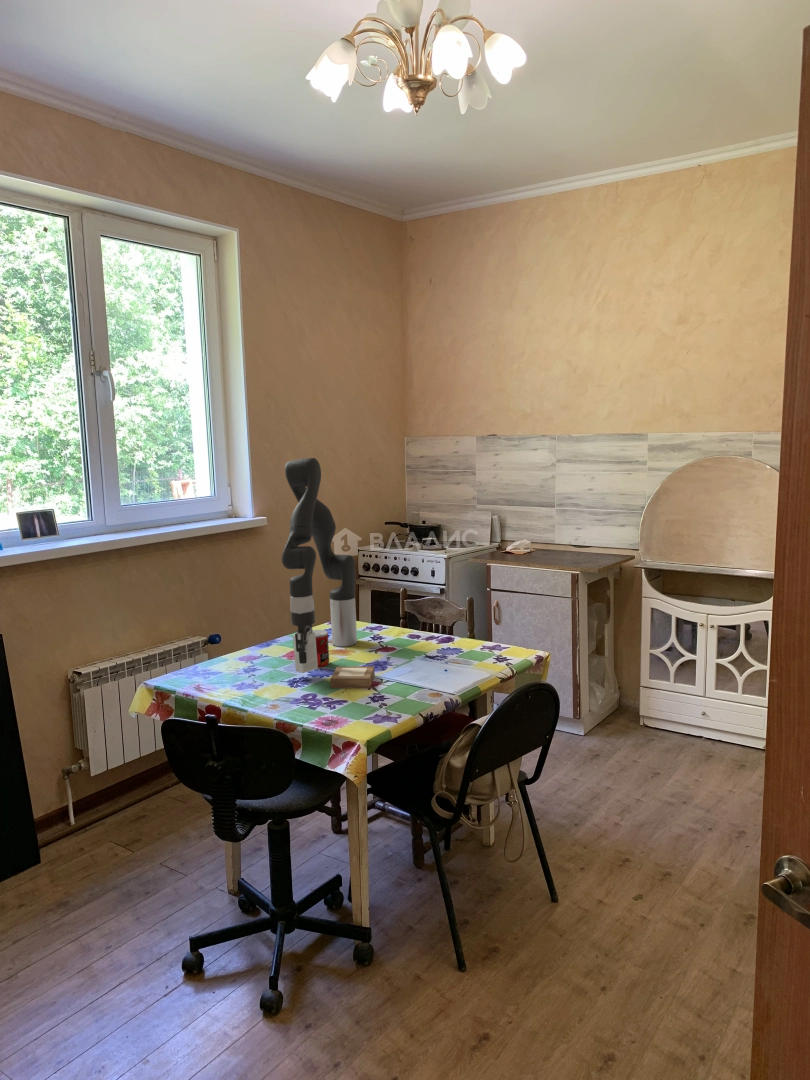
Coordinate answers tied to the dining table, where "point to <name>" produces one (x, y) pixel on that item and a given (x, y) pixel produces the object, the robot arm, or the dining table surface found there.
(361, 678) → the base slab
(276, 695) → the dining table surface
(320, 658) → the canned food
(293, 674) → the dining table surface
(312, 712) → the dining table surface
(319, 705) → the dining table surface
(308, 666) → the skincare box
